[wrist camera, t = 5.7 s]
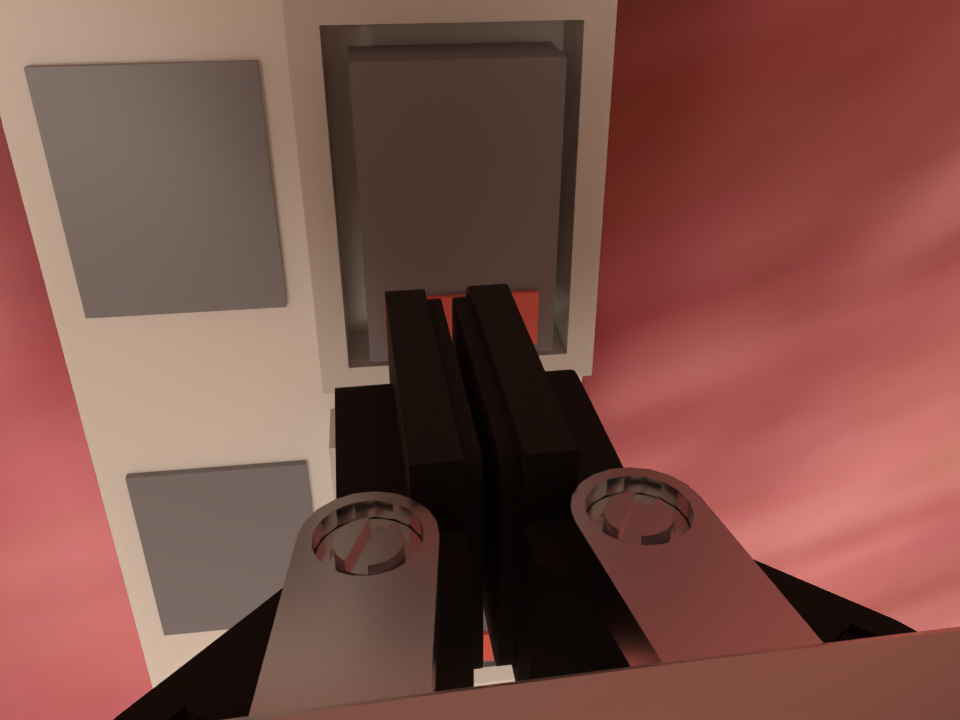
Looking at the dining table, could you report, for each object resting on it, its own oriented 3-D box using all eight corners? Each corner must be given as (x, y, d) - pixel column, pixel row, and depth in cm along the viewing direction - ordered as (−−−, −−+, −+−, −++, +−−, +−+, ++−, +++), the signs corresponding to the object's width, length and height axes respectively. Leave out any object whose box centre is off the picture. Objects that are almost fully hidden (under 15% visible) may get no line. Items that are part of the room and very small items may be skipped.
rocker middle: (348, 45, 13) (348, 63, 12) (550, 41, 14) (568, 57, 13) (368, 329, 16) (370, 364, 15) (539, 318, 16) (553, 352, 15)
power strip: (-192, -979, 11) (-495, -1460, 7) (604, -898, 12) (726, -1272, 8) (187, 650, 24) (157, 795, 20) (540, 615, 25) (574, 745, 21)
